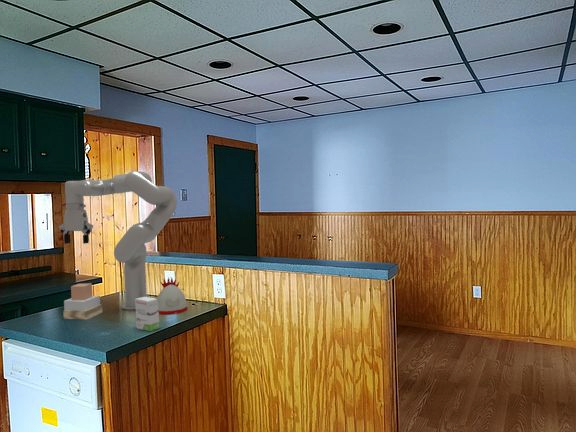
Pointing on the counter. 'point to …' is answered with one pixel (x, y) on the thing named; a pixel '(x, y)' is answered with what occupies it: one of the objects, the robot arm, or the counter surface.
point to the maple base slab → (82, 313)
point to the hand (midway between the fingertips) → (76, 243)
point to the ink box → (147, 313)
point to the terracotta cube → (81, 291)
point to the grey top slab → (82, 304)
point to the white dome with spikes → (171, 299)
